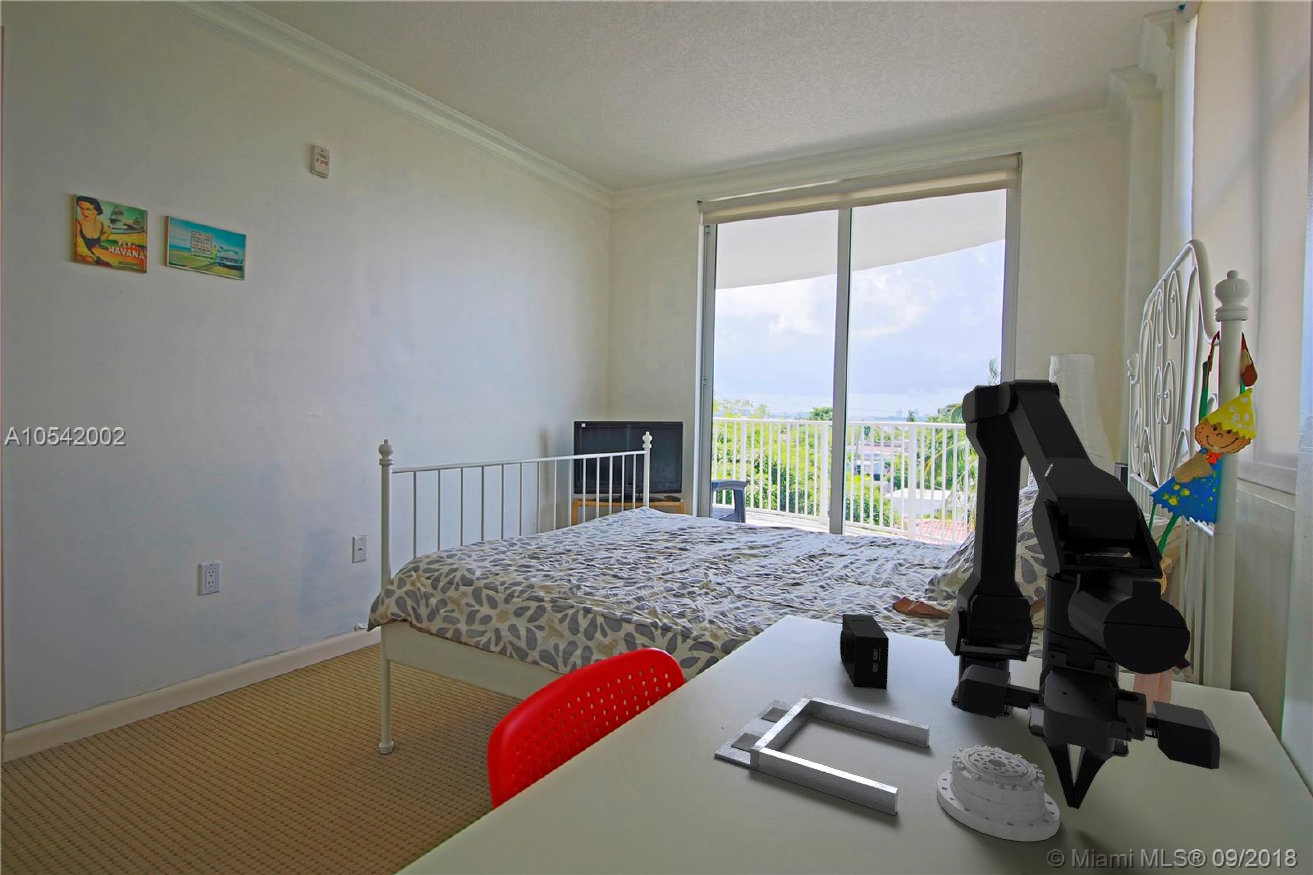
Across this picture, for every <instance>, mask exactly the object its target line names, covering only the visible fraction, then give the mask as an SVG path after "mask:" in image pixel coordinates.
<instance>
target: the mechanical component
mask: <svg viewBox="0 0 1313 875" xmlns="http://www.w3.org/2000/svg"><path fill="white" fill-rule="evenodd" d="M1045 779H1046V778H1045V775H1044V774H1043V769H1041V768H1039V767H1038V764H1035V763H1030V762H1029V761H1027V760H1026V759H1024V758H1023V756H1022V755H1021V754H1018V753H1015V754H1013V753H1011V752H1008V751H1005V750H1002V748H1000V747H994V748H992V747H991V746H988V745H984V746H983V747H982V746H980V745H978V744H976V745H974V747H970V748H966V747H961V746H960V747H959V749H958V751H956V752H955V753H953V754H952V764H951V769H948V770H946V771H944V772H943V773H941V774H940V775H939V776H938V777H937V781H936V782H937V783H936V798H937V801H938V802H939V805H940V807H941V808H943V809H944V810H945V811H946V813H947V814H948V815H950V816H951V817H953V818H954V819H955V820H957V821H958V822H960V823H961V824H963V825H965V826H967V827H969V828H971V829H972V830H973V829H974V830H976V831H977V832H980V833H982V834H986V835H990V836H992V837H996V838H999V839H1003V840H1010V841H1017V842H1024V843H1025V842H1038V841H1043V840H1048V839H1049V838H1051V837H1053V836H1055V835H1056V834H1057V832H1058V830H1059V828H1060V826H1061V825H1060V820H1061V818H1060V815H1061V814H1060V808H1059V806H1058V805H1057V803H1056V801H1054V799H1053V798H1052V797H1051V795H1048V793H1046V792H1045Z"/></svg>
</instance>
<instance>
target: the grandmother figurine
mask: <svg viewBox="0 0 1313 875" xmlns="http://www.w3.org/2000/svg"><path fill="white" fill-rule="evenodd" d="M1191 665H1192V664H1191V662H1190V661H1189V660H1188V659H1187V658H1186V657H1185V656H1184V658H1183V659H1182V660H1181V661H1180V662H1179V663H1178V664H1177V665H1176V666H1174V667H1175V668H1177V669H1178V670H1180V671H1181V673H1182V674H1183V677H1184V680H1185V681H1186V682H1189V683H1192V682H1193V683H1194V682H1195V680H1196V677H1195V675H1194V673H1193V669H1192V667H1191ZM1133 678H1134V679H1133V687H1132V692H1138V693H1143V694H1145V695H1146V702H1147V713H1151V706H1152V702H1153V700H1154V701H1159V702H1164V703H1169V704H1171V700H1172V692H1173V691H1172V682H1173V681H1172V680H1173V679H1172V668H1171V669H1169V670H1167V671H1164V672H1161V673H1157V674H1139V673H1136V672H1134V677H1133Z"/></svg>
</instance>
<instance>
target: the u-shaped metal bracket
mask: <svg viewBox="0 0 1313 875" xmlns="http://www.w3.org/2000/svg"><path fill="white" fill-rule="evenodd" d="M809 718H815V719H819V720H822V721H825V722H830V723H834V724H837V725H841V726H844V727H848V728H852V729H856V730H860V731H862V732H863V731H864V732H866V733H870V734H875V735H878V736H882V737H885V738H889V739H894V740H897V741H901V742H904V743H907V744H911V745H914V746H915V745H916V746H919V747H923V748H926V749H927V748H928V746H929V744H930V725H927V724H922V723H919V722H914V721H910V720H908V719H907V720H906V719H903V718H900V717H895V716H892V715H887V714H883V713H880V712H875V711H871V710H869V709H863V708H859V707H857V706H856V707H855V706H851V705H847V704H843V703H840V702H836V701H832V700H827V699H823V698H820V697H816V696H813V695H808V694H805V695H804V696H803V697H802V698H801V699H800V700H799V701H798V702H797V703H796V704H792V703H788V702H784V701H780V700H776V699H774V700H772V701H771V702H770V703H769V704H767V705H766V707H765V708H763V709H762V710H761V711H760V712H759V713H757V714H756V715H755V716H754V717H753V718H752V719H750V720H749V721H748V722H747V723H746V724H745V725H744V726H743V727H742V728H741V729H739V730H738V731H737V732H736V733H735V734H734V735H733V736H732V737H731V738H729V739H728V740H727V741H726V742H725V743H724V744H722V745H721V746H720V747H719V748H718V749H717V750H716V751H714V753H713V754H714V758H717V759H720V760H724V761H727V762H731V763H733V764H736V765H739V766H742V767H745V768H748V769H752V770H754V771H758V772H761V773H763V774H766V775H769V776H773V777H775V778H779V779H782V780H785V781H787V782H791V783H794V784H797V785H800V786H803V787H806V788H809V789H813V790H815V791H818V792H821V793H823V794H824V793H825V794H827V795H831V796H834V797H837V798H840V799H843V800H846V801H848V802H849V801H850V802H852V803H855V804H858V805H862V806H865V807H867V808H870V809H873V810H876V811H880V812H883V813H885V814H889V815H891V816H896V814H897V811H898V800H899V797H898V796H899V788H898V787H894V786H892V785H888V784H885V783H881V782H878V781H875V780H872V779H869V778H866V777H862V776H859V775H856V774H852V773H850V772H845V771H843V770H840V769H836V768H832V767H829V766H827V765H823V764H820V763H816V762H813V761H810V760H806V759H803V758H800V757H797V756H795V755H790V754H788V753H787V754H786V753H783V752H781V751H780V750H781V749H782V747H784V746H785V744H786V743H788V741H790V739H791V738H792V737H793V736H794V735H795V734H796V733H797V732H798V730H799V729H800V728H801V727H802V726H803V725H804V724H805V723H806V722H807V721H808V720H809Z"/></svg>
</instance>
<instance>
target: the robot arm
mask: <svg viewBox="0 0 1313 875" xmlns="http://www.w3.org/2000/svg"><path fill="white" fill-rule="evenodd" d="M1060 398H1061V392H1060V388H1059V385H1058V383H1057V382H1056V381H1055V382H1053V381H1051V380H1049V379H1027V378H1026V379H1021V378H1015V379H1014V378H1013V379H1010V380H1009V381H1002V382H1000V383H998V384H996V385H995V384H994V385H993V384H992V385H987V384H986V385H984V384H978V385H975V386H974V387H973V389H972V390H971V391H969V392H967V393H965V394H964V396H963V399H962V403H961V417H962V421H963V423H964V424H965V436H966V438H967V440H968V442H969V443H970V444H971V446H972V448H973V450H974V451H975V453H976V455H977V456H978V457H977V458H978V461H977V462H978V464H977V480H976V481H977V483H976V498H975V499H976V500H975V501H976V502H975V521H974V522H975V524H974V541H973V561H972V562H973V563H972V572H971V573H970V575H968V577H967V578H966V579H965V581H964V582H963V583H962V585H961V586H960V587H959V588H958V590H957V595H956V596H957V597H956V605H955V606H953V608H952V610H951V612H950V615H949V617H948V619H947V621H946V624H945V626H944V630H943V631H944V645H945V646H946V647H947V649H948V650H949V651H950V653H951V654H952V655H953V656H954V657H958V659H959V661H958V679H957V680H958V682H957V686H956V687H955V689H954V691H953V694H952V696H951V698H950V702H951V703H952V704H954V705H957V709H959V710H961V711H962V712H964V713H969V714H973V715H978V716H981V717H987V718H990V719H996V718H998V717H999V716H1001V715H1003V716H1010V713H1011V709H1012V707H1013V708H1017V709H1022V710H1026V711H1027V716H1029V718H1028V726H1027V732H1028V733H1029V735H1031V736H1032V737H1037V738H1039V739H1041V740H1042V742H1043V743H1044V745H1045V746H1046V747H1047V750H1048V752H1049V755H1050V757H1051V759H1052V761H1053V763H1054V766H1055V767H1054V768H1055V769H1056V770H1055V771H1056V772H1057V776H1058V779H1059V782H1060V786H1061V789H1062V792H1063V795H1064V798H1065V802H1066V806H1067V807H1068V808H1071V809H1075V810H1079V809H1080V807H1081V805H1082V803H1083V801H1084V799H1085V797H1086V795H1087V793H1088V791H1089V789H1090V788H1091V786H1092V783H1093V781H1094V780H1095V777H1096V776H1097V774H1098V772H1099V771H1100V769H1101V768H1102V767H1103V766H1104V764H1105V763H1106V762H1107V761H1108V760H1109V759H1112V758H1113V757H1120V758H1127V757H1128V756H1129V754H1130V751H1129V750H1130V749H1129V745H1128V742H1129V743H1132V740H1135V741H1139V742H1144V741H1145V740H1146V737H1147V738H1152V739H1156V740H1157V748H1158V749H1159V751H1161V752H1162V753H1163V754H1164V755H1165V756H1166V758H1167V759H1169V760H1170V761H1174V762H1178V763H1181V764H1186V765H1191V766H1194V767H1200V768H1203V769H1208V770H1215V769H1219V770H1220V758H1221V757H1220V756H1221V746H1220V745H1221V744H1220V737H1219V734H1218V732H1217V730H1216V728H1215V726H1214V724H1213V722H1212V720H1211V718H1210V717H1209V716H1208V715H1207V713H1205V712H1204V710H1202V709H1198V708H1193V707H1189V706H1183V705H1178V704H1174V703H1170V704H1169V703H1164V702H1159V701H1154V700H1153V702H1152V706H1151V713H1147V702H1146V695H1145V694H1143V693H1138V692H1133V690H1131V691H1130V690H1126V689H1125V688H1121V687H1120V685H1119V681H1120V666H1121V667H1122V668H1124V669H1126V670H1128V671H1130V672H1133V673H1135V672H1136V673H1139V674H1157V673H1161V672H1164V671H1167V670H1169V669H1171V670H1172V668H1174V667H1175V666H1176V665H1177V664H1178V663H1179V662H1180V661H1181V660H1182V659H1183V658H1184V657H1185V655H1186V654H1187V652H1188V650H1189V647H1190V643H1191V631H1190V629H1189V628H1188V625H1187V622H1186V620H1185V618H1184V616H1183V615H1182V613H1181V612H1180V611H1179V610H1178V609H1177V608H1176V607H1175V606H1174V605H1173V604H1171V603H1170V602H1169V601H1166V600H1165V599H1162V583H1161V581H1159V580H1163V577H1164V572H1163V570H1162V566H1161V561H1163V559H1164V558H1163V556H1162V553H1161V551H1160V549H1159V547H1158V545H1157V543H1156V541H1155V539H1154V537H1153V535H1152V532H1151V531H1150V529H1149V528H1150V527H1149V526H1148V524H1147V520H1146V517H1145V514H1144V512H1143V510H1142V508H1141V507H1140V505H1139V504H1138V501H1136V499H1135V498H1134V496H1133V495H1132V494H1131V492H1130V491H1129V490H1128V488H1127V487H1126V486H1125V485H1124V483H1123V482H1122V481H1121V480H1120V479H1119V478H1118V477H1117V476H1115V475H1113V474H1112V473H1109V472H1108V471H1105V470H1103V469H1102V468H1100V467H1098V466H1096V465H1095V464H1094V462H1093V461H1092V460H1091V458H1090V456H1089V454H1088V452H1087V451H1086V448H1085V446H1084V445H1083V443H1082V440H1081V439H1080V437H1079V435H1078V433H1077V431H1076V429H1075V428H1074V425H1073V423H1072V422H1071V420H1070V418H1069V415H1068V413H1067V412H1066V410H1065V408H1064V407H1063V404H1062V403H1061V400H1060ZM1024 457H1025V459H1026V461H1027V463H1028V466H1029V468H1030V470H1031V472H1032V476H1033V477H1034V480H1035V482H1036V483H1035V484H1036V486H1037V490H1038V491H1037V495H1036V497H1035V500H1034V503H1033V505H1032V508H1031V513H1032V514H1031V525H1032V530H1033V534H1034V536H1035V539H1036V541H1037V542H1038V545H1039V548H1040V550H1041V553H1042V555H1043V557H1044V558H1043V559H1042V561H1041V566H1042V567H1043V568H1044V569H1046V574H1045V586H1044V587H1045V589H1044V592H1045V593H1044V609H1043V610H1044V612H1043V633H1042V634H1043V635H1042V636H1043V637H1042V657H1041V658H1042V659H1041V672H1040V674H1039V684H1038V689H1036V688H1031V687H1026V686H1023V685H1022V686H1020V685H1015V684H1011V682H1012V675H1011V674H1012V672H1011V671H1010V661H1018V662H1019V661H1020V662H1023V663H1026V662H1027V660H1028V657H1029V655H1030V654H1029V653H1030V649H1031V644H1032V639H1033V634H1034V630H1035V624H1033V622H1032V618H1031V615H1030V614H1031V608H1032V607H1031V604H1030V601H1029V600H1028V599H1027V598H1026V597H1025V595H1024V593H1023V592H1022V590H1021V589H1020V587H1019V585H1018V584H1017V582H1016V566H1017V565H1016V563H1017V546H1018V528H1019V527H1018V525H1019V510H1020V509H1019V507H1020V492H1021V491H1020V490H1021V473H1022V472H1021V470H1022V462H1023V459H1024ZM1128 553H1129V555H1130V556H1126V555H1127V554H1128ZM1071 745H1073V746H1075V747H1080V751H1079V755H1078V760H1077V765H1076V766H1077V767H1076V772H1075V778H1074V773H1073V764H1072V763H1073V761H1072V751H1071Z"/></svg>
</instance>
